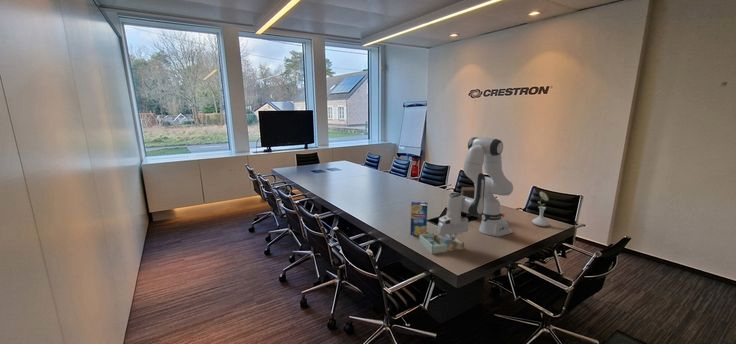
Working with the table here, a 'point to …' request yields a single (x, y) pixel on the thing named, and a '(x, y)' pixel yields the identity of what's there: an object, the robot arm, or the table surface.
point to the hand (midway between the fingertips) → (452, 239)
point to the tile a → (430, 241)
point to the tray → (432, 248)
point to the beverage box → (418, 218)
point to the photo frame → (469, 193)
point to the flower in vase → (541, 213)
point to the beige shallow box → (454, 245)
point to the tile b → (446, 240)
